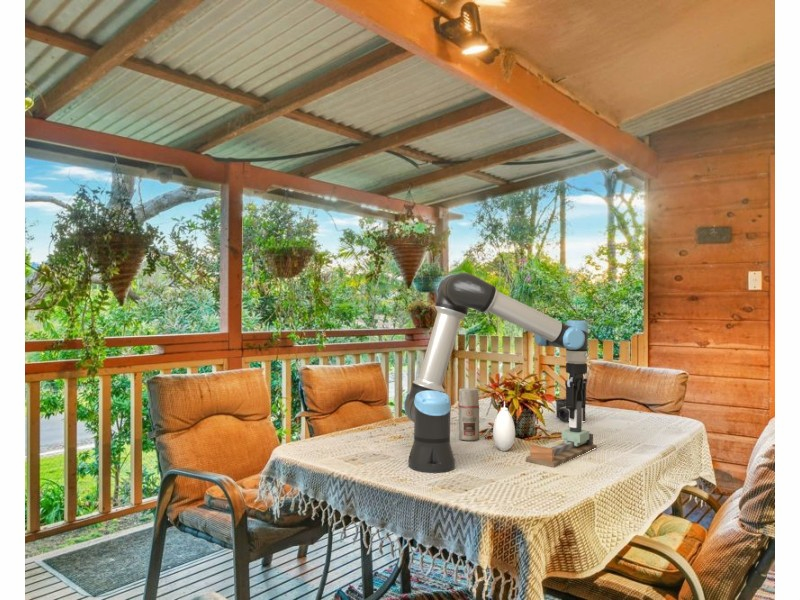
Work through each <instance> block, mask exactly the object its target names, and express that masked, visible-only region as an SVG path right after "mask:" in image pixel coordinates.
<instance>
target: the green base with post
mask: <svg viewBox="0 0 800 600" xmlns="http://www.w3.org/2000/svg"><path fill="white" fill-rule="evenodd" d="M576 410H577V428H573V427H569V428H567V429H565V430H564V429H563V430H562V431H561V440H562V441H563V443H566V442H568V441H572V442H574V446H579V445H581V444H584V443H586V442H587V440H589V433H590V430H587V429H586V430H585V429H582V426H581V421H582V401H578V400H577V402H576Z"/></svg>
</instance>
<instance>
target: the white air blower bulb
mask: <svg viewBox="0 0 800 600" xmlns="http://www.w3.org/2000/svg"><path fill="white" fill-rule="evenodd" d="M515 427H516V426H515V422H514V418H513V416H512V414H511V413H510V411H509V408H508V407H506V400H504V401H503V407H500V411H499V412H498V413H497V414H496V417H495V419H494V423H493V427H492V438H493V441H494V444H495V446H496V447H497V448H498V449H499V450H500V451H501V452H507V451H509V449H510V448H512V447H513V445H514V443H515V439H516V428H515Z"/></svg>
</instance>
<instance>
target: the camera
mask: <svg viewBox="0 0 800 600" xmlns="http://www.w3.org/2000/svg"><path fill="white" fill-rule="evenodd" d="M555 403H556V404H555V405H556V409H555V410H556V413H555V414H556V417H558V418H557V419H559V420H560V421H561V422H563V421H565V422H564V423H566V422H567V421H569V409H566V397H564V398H558V399H556V400H555ZM584 406H586V405H584ZM556 417H555V418H556ZM583 421H585V422H586V407H585V408H583Z"/></svg>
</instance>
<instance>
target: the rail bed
mask: <svg viewBox="0 0 800 600" xmlns="http://www.w3.org/2000/svg"><path fill="white" fill-rule="evenodd" d="M594 448H597V449H598V447H597V444H595V443H594V433H591V432H589V440H587V442H586V443H584V444H581V445H579V446H574V442H572V441H568V442H566V443H564V442H563V443H560V444H557V445H555V446H552V447H546V446H541V445H535V444H530V447H529V455H528V456H526V457H525V462H526V463H531V464H535V465H540V466H544V467H549V468H556V467H558V465H559V466H561V465H563V464H566V463H567V461H568V462H570V461H572V460H574V459H573V458H575V457H577V456H579V455H582V454H584V453H586V452H588V451H590V450H592V449H594ZM588 453H589V452H588ZM586 454H587V453H586ZM584 455H585V454H584ZM582 456H583V455H582ZM579 457H580V456H579ZM577 458H578V457H577ZM571 459H572V460H571ZM575 459H576V458H575ZM569 460H570V461H569ZM562 463H563V464H562ZM560 464H561V465H560Z"/></svg>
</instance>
